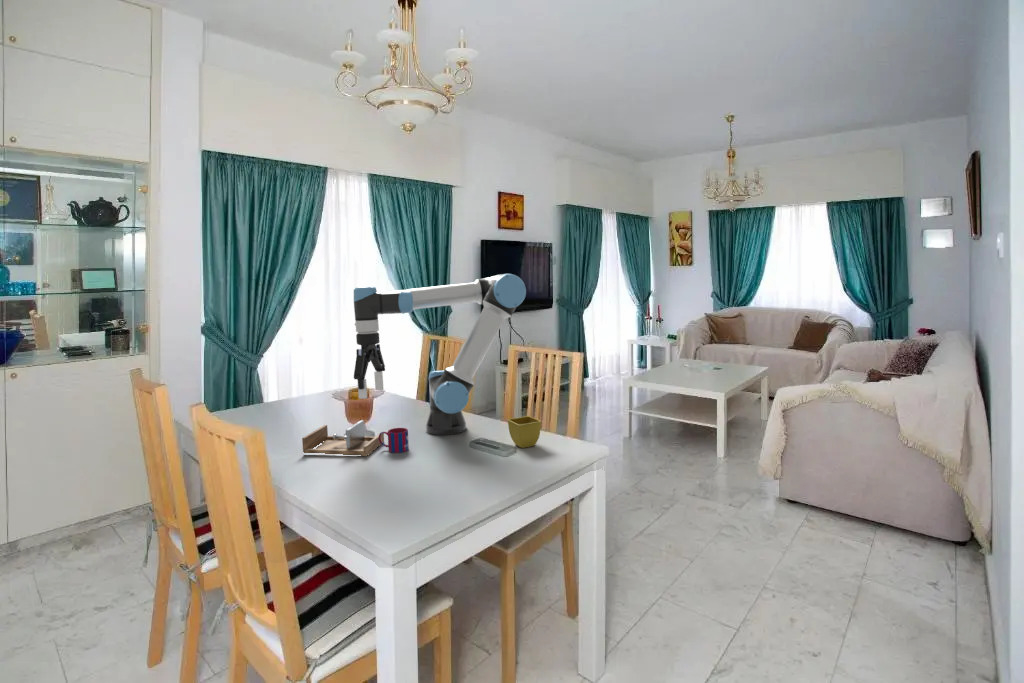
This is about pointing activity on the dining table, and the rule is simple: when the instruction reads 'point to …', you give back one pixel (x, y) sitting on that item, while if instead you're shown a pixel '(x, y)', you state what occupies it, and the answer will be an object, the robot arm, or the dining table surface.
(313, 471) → the dining table surface
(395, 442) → the mug
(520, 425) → the flower pot
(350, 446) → the pusher
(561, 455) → the dining table surface
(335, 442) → the wooden tray
